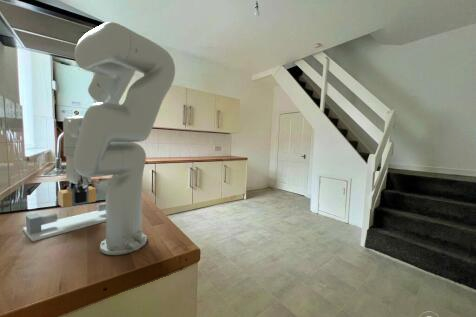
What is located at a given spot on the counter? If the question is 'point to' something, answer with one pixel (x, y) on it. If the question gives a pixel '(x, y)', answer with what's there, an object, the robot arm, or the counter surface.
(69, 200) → the block
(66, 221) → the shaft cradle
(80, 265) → the counter surface
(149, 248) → the counter surface
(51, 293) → the counter surface
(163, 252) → the counter surface
